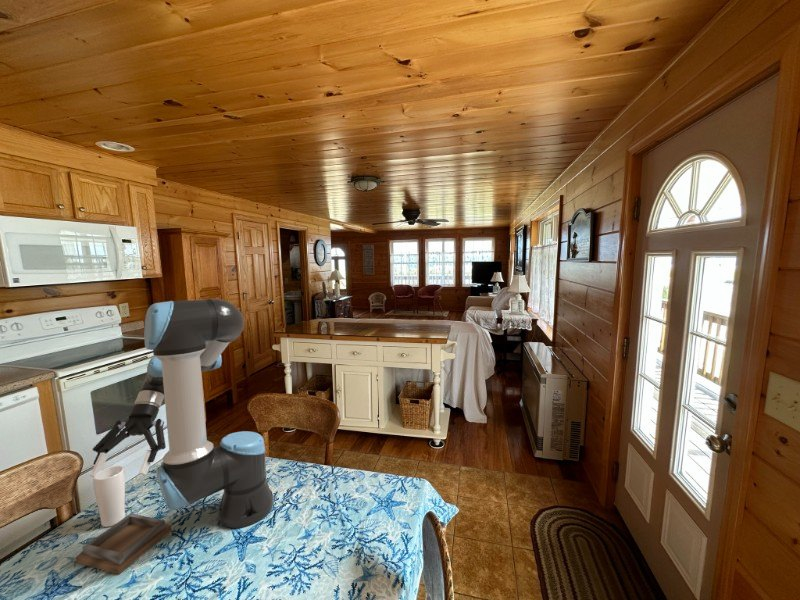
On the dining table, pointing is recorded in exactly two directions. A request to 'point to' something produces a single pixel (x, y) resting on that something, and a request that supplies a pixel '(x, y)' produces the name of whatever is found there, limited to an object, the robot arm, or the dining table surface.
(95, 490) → the white cup
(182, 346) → the robot arm
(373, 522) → the dining table surface
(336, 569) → the dining table surface
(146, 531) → the collar board
